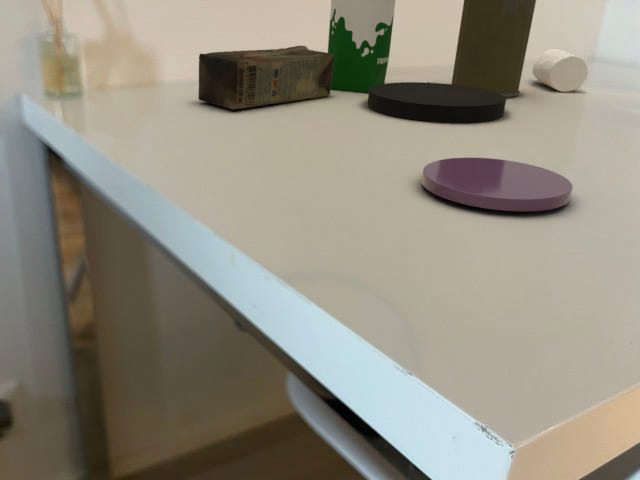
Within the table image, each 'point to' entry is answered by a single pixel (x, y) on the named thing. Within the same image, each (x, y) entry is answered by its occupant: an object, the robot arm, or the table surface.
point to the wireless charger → (436, 102)
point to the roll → (560, 70)
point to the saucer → (496, 184)
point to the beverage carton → (264, 76)
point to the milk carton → (360, 42)
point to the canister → (493, 44)
